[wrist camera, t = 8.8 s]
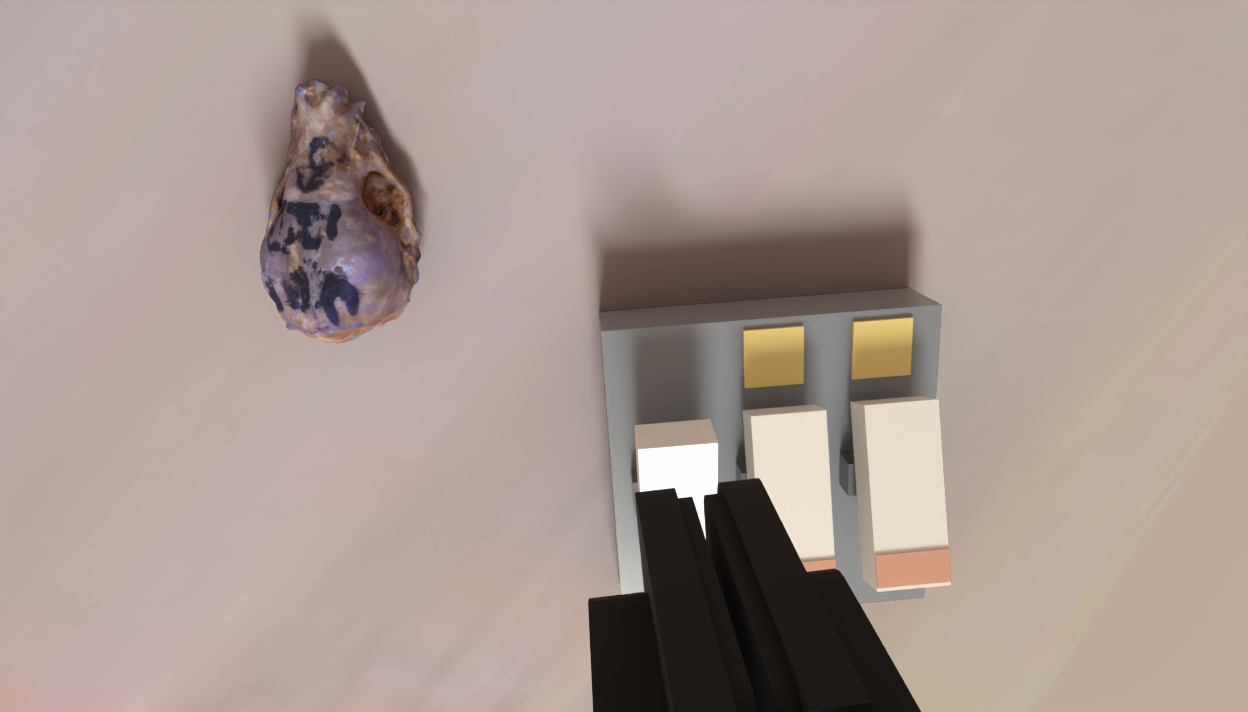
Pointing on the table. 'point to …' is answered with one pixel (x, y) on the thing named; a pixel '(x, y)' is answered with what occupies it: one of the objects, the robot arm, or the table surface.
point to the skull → (338, 224)
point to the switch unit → (763, 388)
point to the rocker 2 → (795, 475)
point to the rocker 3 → (900, 493)
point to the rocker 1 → (678, 459)
